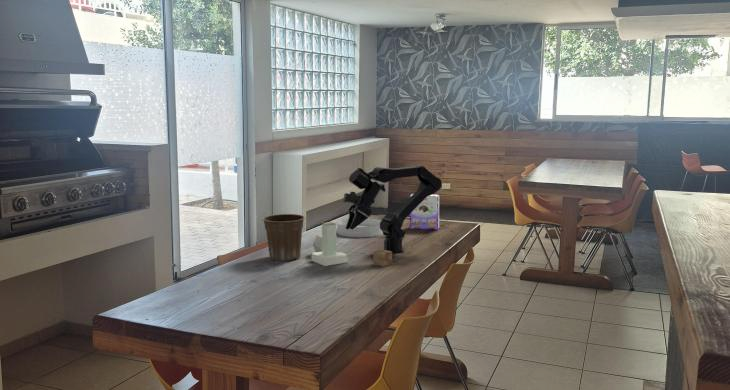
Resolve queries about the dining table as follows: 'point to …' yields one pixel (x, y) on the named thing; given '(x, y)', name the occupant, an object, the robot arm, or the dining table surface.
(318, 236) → the die
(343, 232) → the dish
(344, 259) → the slab
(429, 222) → the candy box
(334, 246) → the tea tin
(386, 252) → the walnut cube
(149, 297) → the dining table surface
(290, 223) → the plant pot
